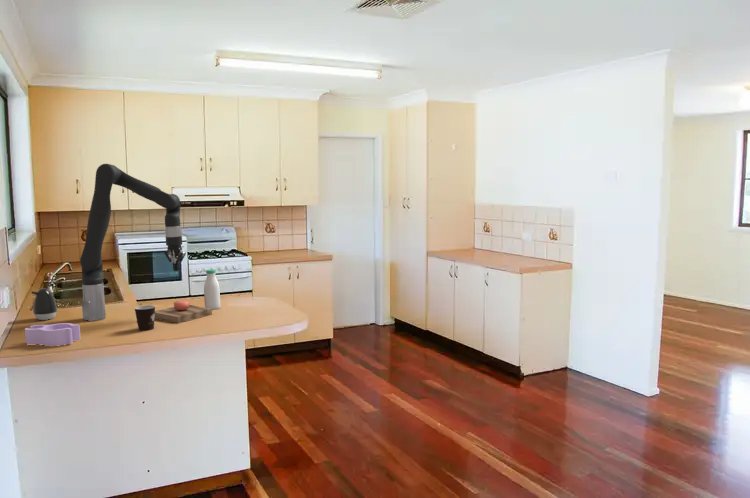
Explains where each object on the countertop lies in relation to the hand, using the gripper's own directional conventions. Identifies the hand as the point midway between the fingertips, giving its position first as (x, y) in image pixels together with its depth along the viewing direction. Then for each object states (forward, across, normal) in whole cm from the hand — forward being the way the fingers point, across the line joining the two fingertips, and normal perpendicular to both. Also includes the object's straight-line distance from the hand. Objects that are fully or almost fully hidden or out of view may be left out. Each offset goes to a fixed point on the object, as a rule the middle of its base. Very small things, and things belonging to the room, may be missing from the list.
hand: (176, 270), depth 297 cm
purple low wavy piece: (+22, +9, +60) cm, 64 cm away
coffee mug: (+22, -8, +25) cm, 34 cm away
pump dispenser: (+21, +53, +36) cm, 67 cm away
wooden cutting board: (+22, -3, +2) cm, 22 cm away
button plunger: (+18, -3, +1) cm, 18 cm away
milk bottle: (+23, -4, -19) cm, 30 cm away
